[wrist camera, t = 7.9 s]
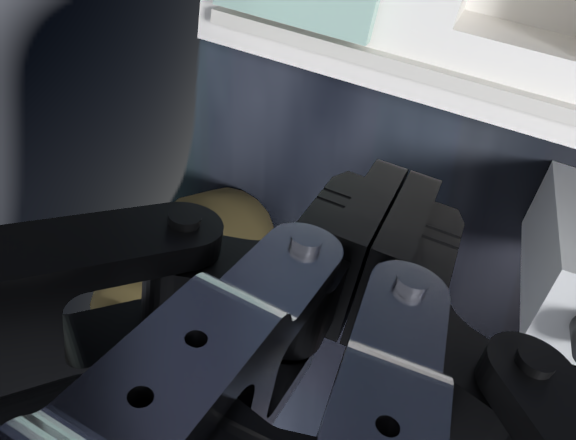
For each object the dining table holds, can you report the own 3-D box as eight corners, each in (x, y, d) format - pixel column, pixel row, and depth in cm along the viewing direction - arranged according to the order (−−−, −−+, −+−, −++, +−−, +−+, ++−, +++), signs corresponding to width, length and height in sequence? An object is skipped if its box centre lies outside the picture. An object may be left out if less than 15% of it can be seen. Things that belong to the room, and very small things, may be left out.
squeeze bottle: (303, 198, 35) (146, 405, 21) (276, 288, 40) (132, 510, 25) (193, 153, 37) (-25, 318, 22) (179, 245, 41) (-9, 432, 27)
